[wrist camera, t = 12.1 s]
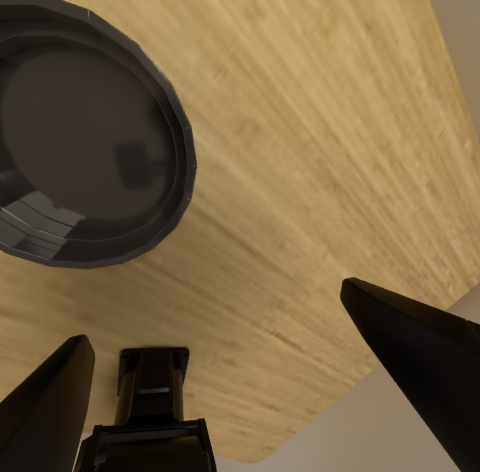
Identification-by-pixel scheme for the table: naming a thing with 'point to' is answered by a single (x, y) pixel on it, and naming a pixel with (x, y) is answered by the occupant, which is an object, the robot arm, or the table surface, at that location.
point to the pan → (86, 140)
